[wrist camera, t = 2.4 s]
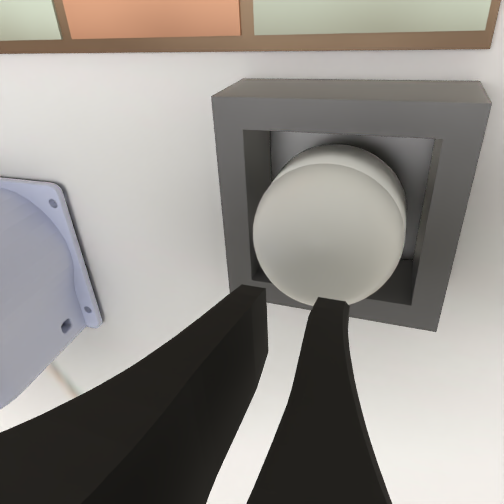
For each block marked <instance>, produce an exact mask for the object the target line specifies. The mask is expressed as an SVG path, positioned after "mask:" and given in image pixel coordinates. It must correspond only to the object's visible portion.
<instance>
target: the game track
mask: <svg viewBox="0 0 504 504" xmlns="http://www.w3.org/2000/svg"><path fill="white" fill-rule="evenodd" d="M500 2H501V0H0V54H18V53H122V52H226V51H330V50H433V49H490V46H491V42H492V37H493V33H494V29H495V24H496V20H497V15H498V11H499V6H500Z"/></svg>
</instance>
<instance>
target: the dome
mask: <svg viewBox="0 0 504 504" xmlns="http://www.w3.org/2000/svg"><path fill="white" fill-rule="evenodd" d="M406 217H407V201H406V196H405V192H404V189H403V187H402V184H401V182H400V181H399V179H398V177H397V175H396V174H395V173H394V172H393V170H392V169H391V168H390V167H389V166H388V165H387V164H386V163H385V162H384V161H382V160H381V159H380V158H378V157H377V156H375V155H374V154H372V153H370V152H368V151H366V150H363V149H361V148H358V147H354V146H350V145H343V144H328V145H320V146H317V147H313V148H310V149H308V150H305V151H303V152H301V153H300V154H298V155H296V156H295V157H294V158H292V159H291V160H290V161H289V162H288V163H287V164H286V165H285V166H284V167H283V168H282V170H281V171H280V172H279V174H278V175H277V176H276V178H275V179H274V181H273V182H272V183H271V185H270V186H269V187H268V189H267V190H266V192H265V193H264V194H263V196H262V198H261V200H260V203H259V205H258V207H257V210H256V214H255V218H254V223H253V243H254V248H255V252H256V256H257V259H258V261H259V264H260V266H261V268H262V269H263V271H264V273H265V274H266V276H267V277H268V278H269V280H270V281H271V282H272V283H273V284H274V285H275V286H276V287H277V288H278V289H279V290H280V291H281V292H283V293H284V294H286V295H287V296H289V297H291V298H292V299H294V300H296V301H299V302H301V303H304V304H307V305H311V306H314V304H315V302H316V300H317V298H318V297H322V298H328V299H334V300H341V301H346V303H347V304H348V305H350V304H353V303H356V302H359V301H361V300H363V299H365V298H367V297H368V296H370V295H371V294H373V293H374V292H376V291H377V290H378V289H379V288H380V287H382V286H383V285H384V283H385V282H386V281H387V280H388V279H389V278H390V277H391V275H392V274H393V272H394V270H395V269H396V267H397V265H398V263H399V260H400V258H401V255H402V252H403V248H404V244H405V231H406Z"/></svg>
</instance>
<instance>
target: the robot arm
mask: <svg viewBox="0 0 504 504" xmlns="http://www.w3.org/2000/svg"><path fill="white" fill-rule="evenodd" d="M55 201H56V202H55ZM349 311H350V306H349V305H348V304H347V303H346V301H341V300H334V299H328V298H322V297H318V298H317V300H316V302H315V304H314V306H313V308H312V310H311V312H310V315H309V317H308V321H307V325H306V330H305V334H304V338H303V343H302V347H301V351H300V356H299V360H298V364H297V369H296V373H295V377H294V382H293V386H292V390H291V393H290V396H289V400H288V403H287V406H286V408H285V411H284V414H283V416H282V419H281V421H280V424H279V426H278V429H277V432H276V434H275V437H274V439H273V442H272V444H271V447H270V449H269V452H268V454H267V457H266V459H265V461H264V464H263V466H262V469H261V471H260V473H259V476H258V478H257V481H256V483H255V486H254V488H253V490H252V492H251V495H250V497H249V499H248V501H247V504H392V502H391V499H390V497H389V494H388V491H387V488H386V486H385V483H384V480H383V477H382V474H381V472H380V469H379V466H378V463H377V460H376V457H375V454H374V451H373V448H372V445H371V442H370V438H369V435H368V432H367V428H366V425H365V421H364V417H363V414H362V410H361V406H360V402H359V398H358V394H357V389H356V384H355V380H354V374H353V368H352V363H351V357H350V350H349V339H348V321H349ZM101 324H102V318H101V314H100V311H99V308H98V305H97V302H96V298H95V295H94V292H93V289H92V285H91V282H90V279H89V276H88V272H87V269H86V266H85V263H84V259H83V256H82V253H81V250H80V246H79V243H78V240H77V237H76V233H75V230H74V227H73V224H72V221H71V217H70V214H69V211H68V208H67V204H66V201H65V198H64V195H63V192H62V190H61V188H60V187H59V186H58V185H56V184H55V183H50V182H40V181H31V180H21V179H11V178H2V177H0V409H2V408H3V407H5V406H6V405H8V404H9V403H10V402H12V401H13V400H14V399H15V398H17V397H18V396H19V395H20V394H21V393H22V392H23V391H24V390H25V389H26V388H27V387H28V386H29V385H30V384H31V383H32V382H33V381H34V380H35V379H36V378H37V377H38V375H39V374H40V373H41V372H42V371H43V370H44V369H45V368H46V367H47V366H48V365H49V364H50V363H51V362H52V361H53V360H54V359H55V358H56V357H57V356H58V355H59V354H60V353H61V352H62V351H63V350H64V349H65V348H66V347H67V345H68V344H69V343H70V342H71V341H72V340H73V339H74V338H75V337H76V336H77V335H78V334H79V333H80V332H81V331H82V330H83V329H84V328H85V327H86V326H87V327H92V328H98V327H99V326H100V325H101ZM267 354H268V330H267V304H266V288H261V287H255V286H249V285H243V284H242V285H240V286H239V287H238V288H236V289H235V290H234V291H232V292H231V293H230V294H229V295H227V296H226V297H225V298H224V299H222V300H221V301H220V302H219V303H217V304H216V305H215V306H214V307H212V308H211V309H210V310H209V311H207V312H206V313H205V314H204V315H202V316H201V317H200V318H199V319H197V320H196V321H195V322H193V323H192V324H191V325H189V326H188V327H187V328H186V329H184V330H183V331H182V332H180V333H179V334H178V335H176V336H175V337H174V338H172V339H171V340H169V341H168V342H167V343H165V344H164V345H162V346H161V347H159V348H158V349H157V350H155V351H154V352H152V353H151V354H149V355H148V356H146V357H145V358H144V359H142V360H141V361H139V362H137V363H136V364H134V365H133V366H131V367H130V368H128V369H126V370H125V371H123V372H121V373H120V374H118V375H116V376H114V377H113V378H111V379H109V380H108V381H106V382H104V383H102V384H101V385H99V386H97V387H95V388H93V389H92V390H90V391H88V392H86V393H84V394H82V395H80V396H78V397H76V398H74V399H72V400H70V401H68V402H66V403H64V404H62V405H60V406H58V407H56V408H54V409H52V410H50V411H48V412H46V413H44V414H42V415H40V416H37V417H35V418H33V419H31V420H28V421H26V422H24V423H22V424H19V425H17V426H15V427H13V428H10V429H8V430H5V431H3V432H1V433H0V504H206V502H207V499H208V497H209V494H210V491H211V489H212V486H213V484H214V482H215V479H216V477H217V474H218V472H219V470H220V468H221V465H222V463H223V461H224V459H225V457H226V455H227V452H228V450H229V448H230V446H231V444H232V442H233V439H234V437H235V435H236V433H237V431H238V429H239V426H240V424H241V422H242V420H243V418H244V415H245V413H246V411H247V409H248V407H249V404H250V402H251V400H252V398H253V396H254V393H255V391H256V389H257V386H258V383H259V380H260V377H261V373H262V370H263V367H264V364H265V360H266V357H267Z"/></svg>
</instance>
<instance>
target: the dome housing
mask: <svg viewBox="0 0 504 504" xmlns="http://www.w3.org/2000/svg"><path fill="white" fill-rule="evenodd" d="M211 99H212V110H213V120H214V131H215V141H216V152H217V162H218V173H219V183H220V194H221V204H222V215H223V225H224V236H225V246H226V257H227V267H228V278H229V289H230V293H231V292H232V291H234V290H235V289H236V288H238V287H239V286H240V285H242V284H243V285H249V286H255V287H261V288H266V302H267V303H273V304H279V305H285V306H290V307H296V308H302V309H307V310H312V308H313V306H311V305H307V304H304V303H301V302H299V301H296V300H294V299H292V298H291V297H289V296H287V295H286V294H284V293H283V292H281V291H280V290H279V289H278V288H277V287H276V286H275V285H274V284H273V283H272V282H271V281H270V280H269V278H268V277H267V276H266V274H265V273H264V271H263V269H262V268H261V266H260V264H259V261H258V259H257V256H256V252H255V248H254V243H253V223H254V218H255V214H256V210H257V207H258V205H259V203H260V200H261V198H262V196H263V194H264V193H265V192H266V190H267V189H268V187H269V186H270V185H271V147H270V131H287V132H307V133H328V134H349V135H369V136H390V137H410V138H431V139H435V142H434V147H433V153H432V158H431V164H430V169H429V175H428V180H427V186H426V191H425V197H424V202H423V208H422V213H421V218H420V224H419V229H418V235H417V240H416V246H415V251H414V257H413V261H410V260H402V259H400V260H399V263H398V265H397V267H396V269H395V270H394V272H393V274H392V275H391V277H390V278H389V279H388V280H387V281H386V282H385V283H384V285H383V286H382V287H380V288H379V289H378V290H377V291H376V292H374V293H373V294H371V295H370V296H368V297H367V298H365V299H363V300H361V301H359V302H356V303H353V304H350V305H349V306H350V311H349V317H353V318H359V319H365V320H370V321H376V322H382V323H388V324H393V325H399V326H405V327H411V328H416V329H422V330H428V331H433V332H436V331H437V327H438V323H439V318H440V314H441V310H442V306H443V302H444V298H445V294H446V290H447V286H448V281H449V277H450V273H451V269H452V265H453V261H454V257H455V253H456V249H457V244H458V240H459V236H460V232H461V228H462V224H463V220H464V216H465V212H466V208H467V203H468V199H469V195H470V191H471V187H472V183H473V179H474V175H475V171H476V166H477V162H478V158H479V154H480V150H481V146H482V142H483V138H484V134H485V129H486V125H487V121H488V117H489V113H490V109H491V105H492V103H491V101H490V99H489V97H488V95H487V94H486V92H485V90H484V88H483V86H482V84H481V83H480V81H426V80H332V79H241V80H240V81H238V82H236V83H234V84H233V85H231V86H229V87H227V88H225V89H224V90H222V91H220V92H218V93H216V94H215V95H213V96H211Z"/></svg>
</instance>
